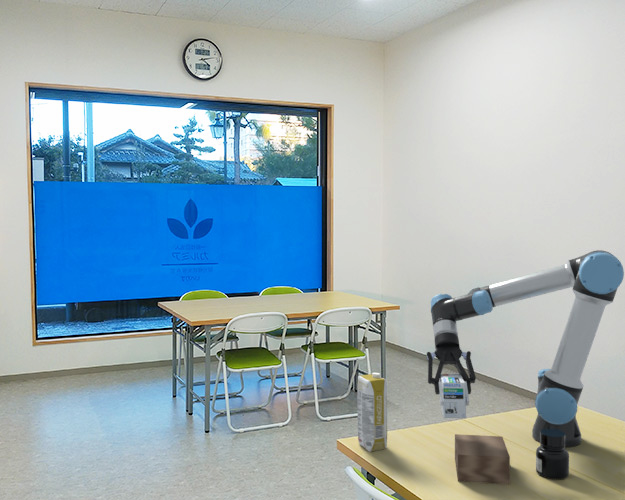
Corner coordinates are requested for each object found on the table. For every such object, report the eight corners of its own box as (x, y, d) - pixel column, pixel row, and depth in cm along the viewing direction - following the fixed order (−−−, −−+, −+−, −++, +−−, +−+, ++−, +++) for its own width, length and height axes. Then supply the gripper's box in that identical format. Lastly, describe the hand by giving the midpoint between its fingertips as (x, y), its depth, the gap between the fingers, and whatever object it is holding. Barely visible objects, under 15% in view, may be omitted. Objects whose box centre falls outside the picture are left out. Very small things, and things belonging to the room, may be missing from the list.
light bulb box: (466, 419, 180) (466, 382, 179) (443, 418, 181) (442, 382, 180) (462, 407, 190) (461, 373, 190) (440, 407, 191) (439, 373, 191)
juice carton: (390, 449, 197) (389, 375, 196) (368, 453, 194) (367, 378, 193) (376, 439, 206) (375, 368, 205) (355, 443, 203) (354, 371, 202)
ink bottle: (542, 464, 184) (542, 425, 183) (573, 471, 178) (573, 431, 178) (530, 475, 177) (531, 434, 176) (562, 483, 171) (563, 441, 170)
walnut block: (502, 462, 187) (502, 436, 186) (509, 485, 171) (509, 457, 170) (454, 459, 189) (454, 434, 189) (457, 482, 173) (457, 454, 173)
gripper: (476, 343, 199) (487, 409, 183) (414, 344, 201) (420, 409, 185) (478, 330, 193) (490, 396, 178) (415, 331, 195) (421, 397, 180)
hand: (454, 403), depth 182 cm, fingers closed on light bulb box, 7 cm apart
